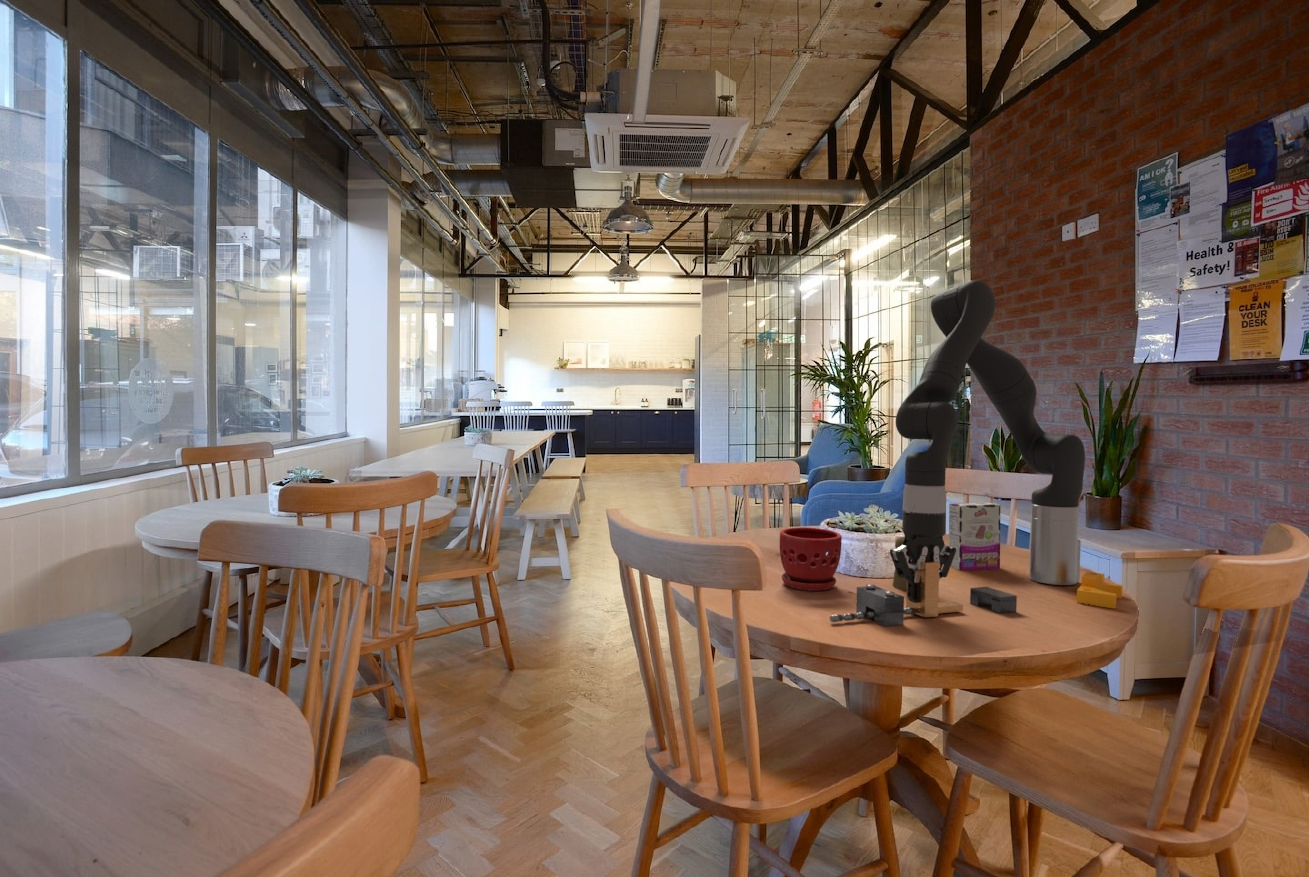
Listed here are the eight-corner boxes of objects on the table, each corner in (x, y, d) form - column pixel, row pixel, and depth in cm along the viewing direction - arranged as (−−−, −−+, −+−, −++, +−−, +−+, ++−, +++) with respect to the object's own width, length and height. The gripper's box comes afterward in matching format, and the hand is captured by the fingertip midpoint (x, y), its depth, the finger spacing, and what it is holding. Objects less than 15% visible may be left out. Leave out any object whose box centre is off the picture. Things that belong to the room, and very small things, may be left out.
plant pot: (766, 585, 149) (767, 530, 149) (802, 576, 158) (803, 525, 157) (817, 597, 139) (818, 539, 139) (852, 587, 148) (853, 532, 148)
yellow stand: (1086, 571, 147) (1122, 576, 143) (1085, 591, 147) (1122, 597, 143) (1077, 581, 138) (1115, 586, 133) (1076, 602, 138) (1115, 608, 134)
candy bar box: (986, 567, 171) (988, 502, 170) (1000, 571, 166) (1002, 504, 165) (946, 568, 168) (948, 502, 168) (959, 573, 163) (961, 505, 163)
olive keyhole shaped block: (917, 585, 151) (918, 535, 151) (925, 591, 145) (926, 540, 145) (889, 584, 152) (890, 534, 151) (896, 590, 146) (897, 539, 145)
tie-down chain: (948, 606, 133) (949, 554, 133) (968, 613, 128) (969, 560, 128) (822, 618, 123) (823, 563, 123) (838, 626, 119) (839, 569, 118)
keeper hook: (985, 601, 137) (986, 586, 137) (1016, 611, 130) (1016, 595, 130) (970, 603, 136) (970, 588, 136) (1000, 613, 129) (1000, 597, 129)
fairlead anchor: (874, 611, 129) (874, 582, 129) (903, 624, 121) (904, 593, 121) (856, 613, 128) (856, 583, 128) (884, 626, 120) (885, 594, 120)
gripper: (940, 505, 133) (937, 593, 133) (879, 507, 128) (877, 598, 129) (969, 510, 126) (967, 603, 126) (906, 512, 121) (904, 609, 122)
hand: (922, 600), depth 128 cm, fingers closed on tie-down chain, 3 cm apart
